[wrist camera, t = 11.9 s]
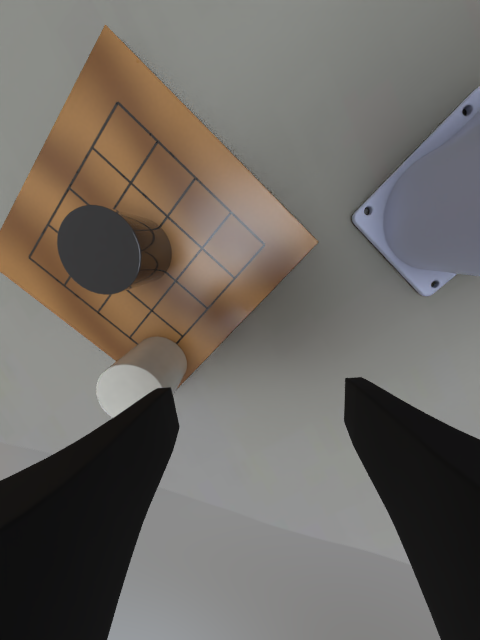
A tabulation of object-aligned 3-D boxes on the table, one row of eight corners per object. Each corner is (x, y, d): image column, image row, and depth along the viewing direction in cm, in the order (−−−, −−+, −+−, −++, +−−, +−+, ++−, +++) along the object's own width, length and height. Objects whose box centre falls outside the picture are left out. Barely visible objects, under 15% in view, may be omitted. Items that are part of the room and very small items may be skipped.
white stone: (154, 325, 18) (120, 350, 14) (198, 361, 19) (180, 396, 14) (122, 362, 19) (82, 397, 15) (165, 395, 20) (139, 438, 15)
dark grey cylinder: (133, 201, 15) (83, 183, 11) (184, 248, 16) (158, 248, 12) (98, 253, 17) (41, 255, 12) (148, 295, 17) (111, 311, 13)
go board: (117, 41, 14) (104, 23, 13) (314, 242, 17) (319, 241, 15) (1, 259, 18) (-16, 260, 17) (171, 391, 21) (166, 400, 20)
